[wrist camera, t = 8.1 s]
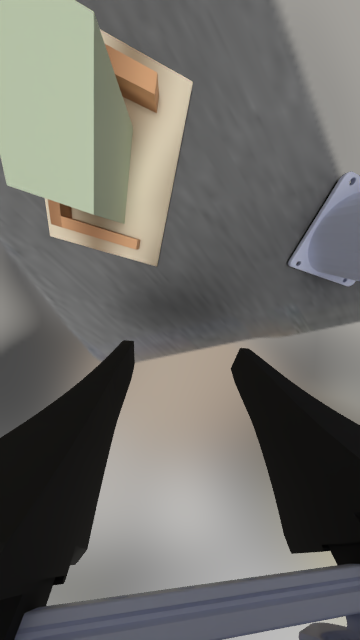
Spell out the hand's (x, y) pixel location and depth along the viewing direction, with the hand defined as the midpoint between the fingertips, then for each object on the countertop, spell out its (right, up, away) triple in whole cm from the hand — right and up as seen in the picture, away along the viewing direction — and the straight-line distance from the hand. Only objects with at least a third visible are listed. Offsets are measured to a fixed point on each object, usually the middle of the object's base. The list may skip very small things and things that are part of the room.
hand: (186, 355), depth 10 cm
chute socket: (-6, +14, +2) cm, 16 cm away
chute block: (-7, +14, +2) cm, 16 cm away
